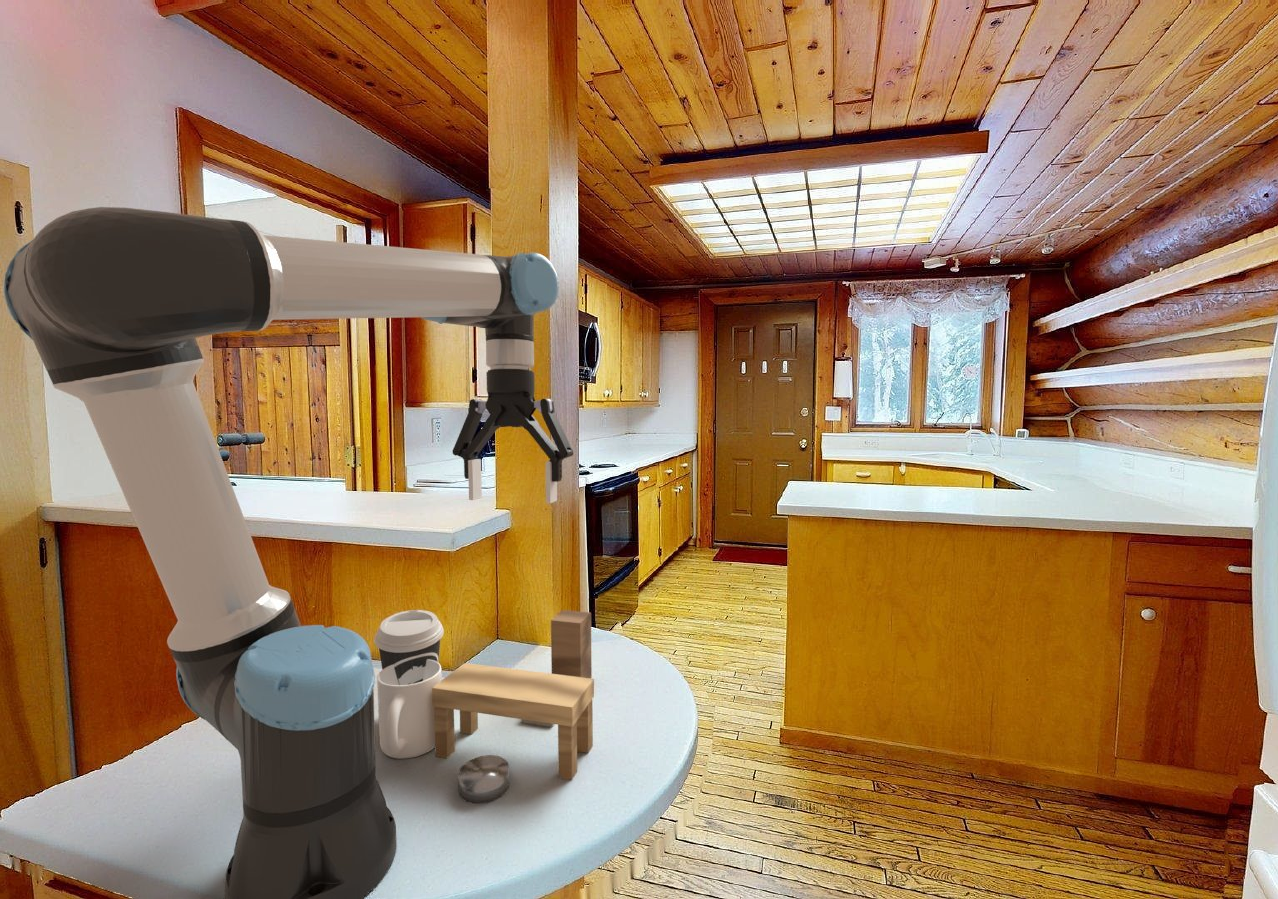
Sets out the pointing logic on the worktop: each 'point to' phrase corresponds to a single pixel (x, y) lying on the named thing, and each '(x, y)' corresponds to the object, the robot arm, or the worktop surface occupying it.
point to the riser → (516, 706)
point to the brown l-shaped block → (570, 647)
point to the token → (483, 779)
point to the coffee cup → (409, 643)
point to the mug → (407, 712)
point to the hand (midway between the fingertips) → (512, 500)
